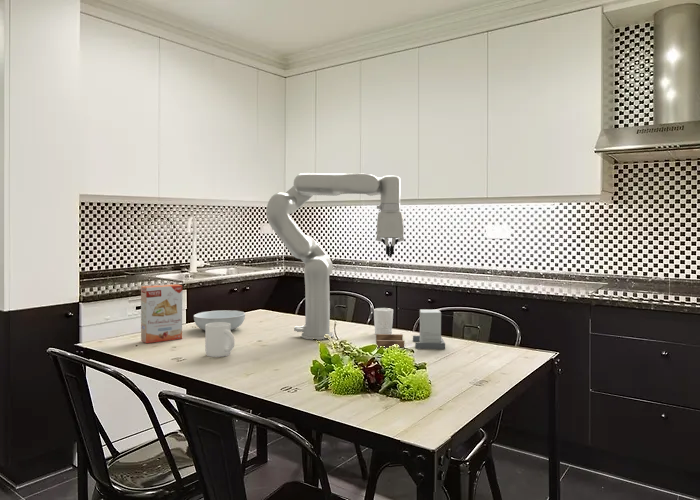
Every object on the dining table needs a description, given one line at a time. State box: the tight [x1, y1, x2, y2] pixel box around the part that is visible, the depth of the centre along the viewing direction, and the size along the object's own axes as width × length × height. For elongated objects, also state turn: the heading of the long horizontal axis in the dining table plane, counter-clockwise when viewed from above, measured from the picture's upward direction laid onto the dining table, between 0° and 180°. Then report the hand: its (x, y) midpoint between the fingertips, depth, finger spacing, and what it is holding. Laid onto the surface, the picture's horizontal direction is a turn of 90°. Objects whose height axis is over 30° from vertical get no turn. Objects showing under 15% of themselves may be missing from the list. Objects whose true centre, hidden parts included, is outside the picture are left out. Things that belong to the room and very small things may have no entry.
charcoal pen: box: [412, 335, 446, 350], centre depth 198 cm, size 10×13×2 cm
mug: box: [204, 322, 236, 358], centre depth 180 cm, size 12×8×10 cm
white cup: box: [373, 307, 394, 335], centre depth 218 cm, size 8×8×10 cm
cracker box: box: [140, 283, 183, 344], centre depth 203 cm, size 14×6×21 cm, turn 131°
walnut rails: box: [375, 333, 405, 348], centre depth 199 cm, size 10×12×2 cm
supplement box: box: [419, 309, 442, 343], centre depth 199 cm, size 7×7×13 cm
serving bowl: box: [193, 309, 246, 331], centre depth 224 cm, size 21×21×7 cm
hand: (389, 256), depth 207 cm, fingers closed
